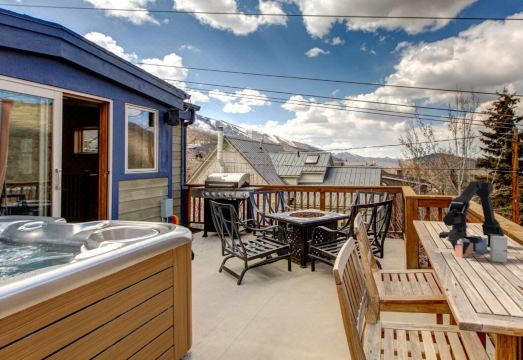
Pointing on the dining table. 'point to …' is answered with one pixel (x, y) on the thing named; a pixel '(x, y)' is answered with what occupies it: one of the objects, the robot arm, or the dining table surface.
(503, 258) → the skincare box
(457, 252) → the salmon pink prism
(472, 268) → the dining table surface
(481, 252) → the block
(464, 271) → the dining table surface
